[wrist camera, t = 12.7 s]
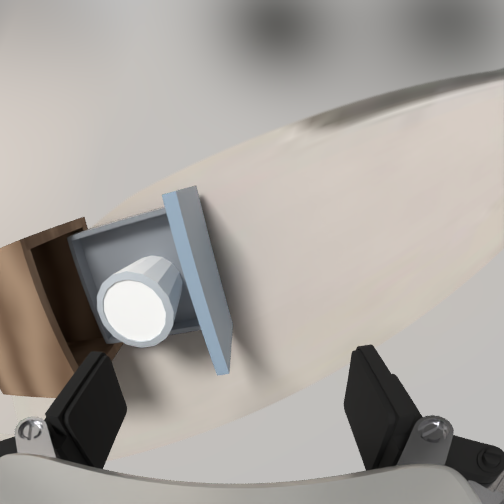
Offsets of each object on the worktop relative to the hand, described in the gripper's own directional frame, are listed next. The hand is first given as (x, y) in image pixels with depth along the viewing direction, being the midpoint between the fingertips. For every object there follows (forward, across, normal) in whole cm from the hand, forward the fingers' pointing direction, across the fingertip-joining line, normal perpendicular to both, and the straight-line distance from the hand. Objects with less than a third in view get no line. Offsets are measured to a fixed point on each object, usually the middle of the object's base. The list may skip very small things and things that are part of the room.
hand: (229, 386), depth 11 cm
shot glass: (+19, +9, +3) cm, 21 cm away
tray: (+20, +9, +2) cm, 22 cm away
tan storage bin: (+21, +23, +4) cm, 31 cm away
